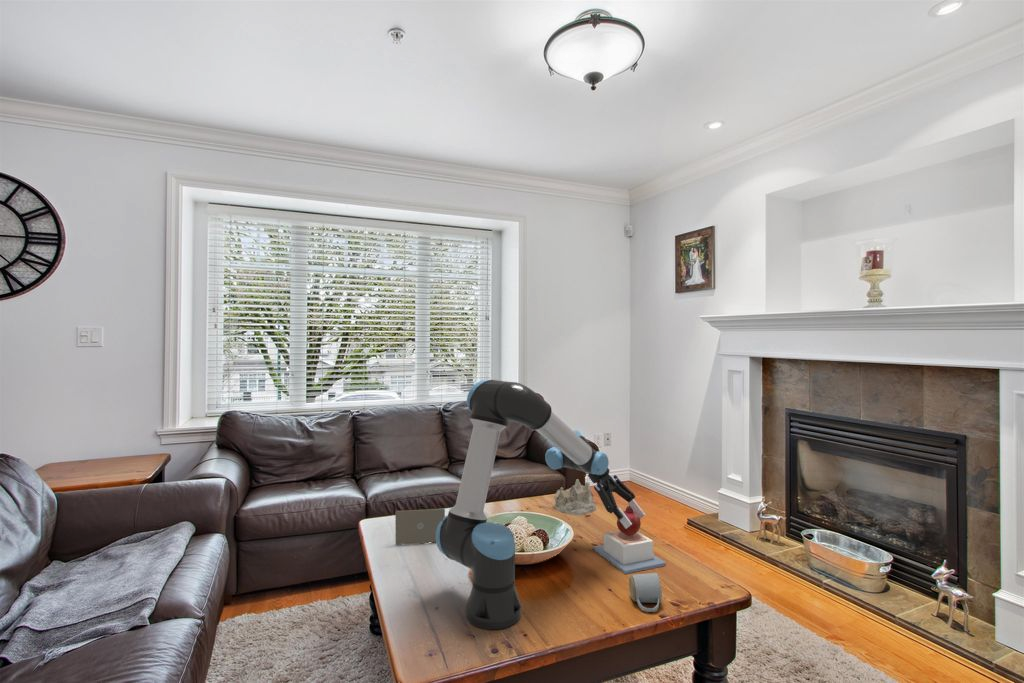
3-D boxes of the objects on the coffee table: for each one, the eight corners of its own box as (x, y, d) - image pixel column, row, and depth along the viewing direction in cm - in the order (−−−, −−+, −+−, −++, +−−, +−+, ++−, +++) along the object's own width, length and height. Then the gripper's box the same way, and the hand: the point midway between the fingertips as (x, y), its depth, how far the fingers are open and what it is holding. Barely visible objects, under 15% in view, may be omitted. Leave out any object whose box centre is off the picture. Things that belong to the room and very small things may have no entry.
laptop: (444, 530, 198) (444, 497, 198) (445, 543, 185) (444, 508, 185) (398, 533, 195) (398, 500, 195) (395, 546, 183) (395, 511, 183)
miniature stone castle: (601, 509, 220) (598, 475, 220) (572, 518, 211) (569, 483, 211) (578, 502, 233) (576, 470, 233) (550, 510, 224) (547, 476, 224)
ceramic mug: (627, 593, 148) (627, 568, 148) (655, 593, 148) (655, 568, 148) (636, 614, 138) (636, 586, 137) (666, 614, 138) (666, 586, 137)
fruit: (643, 535, 174) (644, 506, 174) (634, 541, 167) (636, 511, 168) (621, 529, 178) (623, 501, 179) (612, 535, 172) (613, 506, 172)
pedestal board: (665, 565, 166) (665, 543, 166) (625, 574, 160) (625, 551, 160) (630, 542, 185) (630, 522, 185) (592, 549, 179) (592, 529, 179)
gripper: (603, 468, 191) (642, 518, 181) (572, 481, 173) (613, 538, 163) (616, 456, 188) (656, 506, 178) (585, 469, 170) (628, 525, 160)
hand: (636, 521), depth 171 cm, fingers open, 10 cm apart
